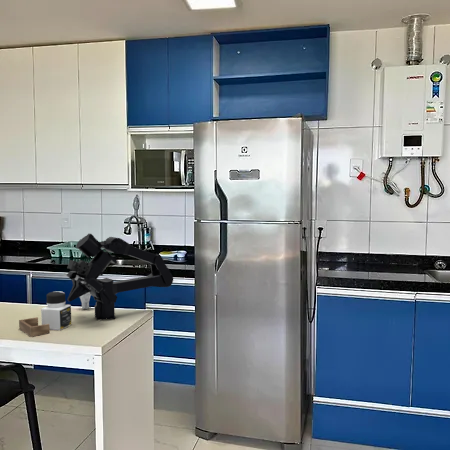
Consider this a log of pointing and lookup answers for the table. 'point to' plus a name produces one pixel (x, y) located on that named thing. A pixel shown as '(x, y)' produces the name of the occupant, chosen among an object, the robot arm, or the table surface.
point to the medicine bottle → (56, 311)
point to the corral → (33, 327)
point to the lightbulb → (85, 300)
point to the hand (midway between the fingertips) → (68, 300)
